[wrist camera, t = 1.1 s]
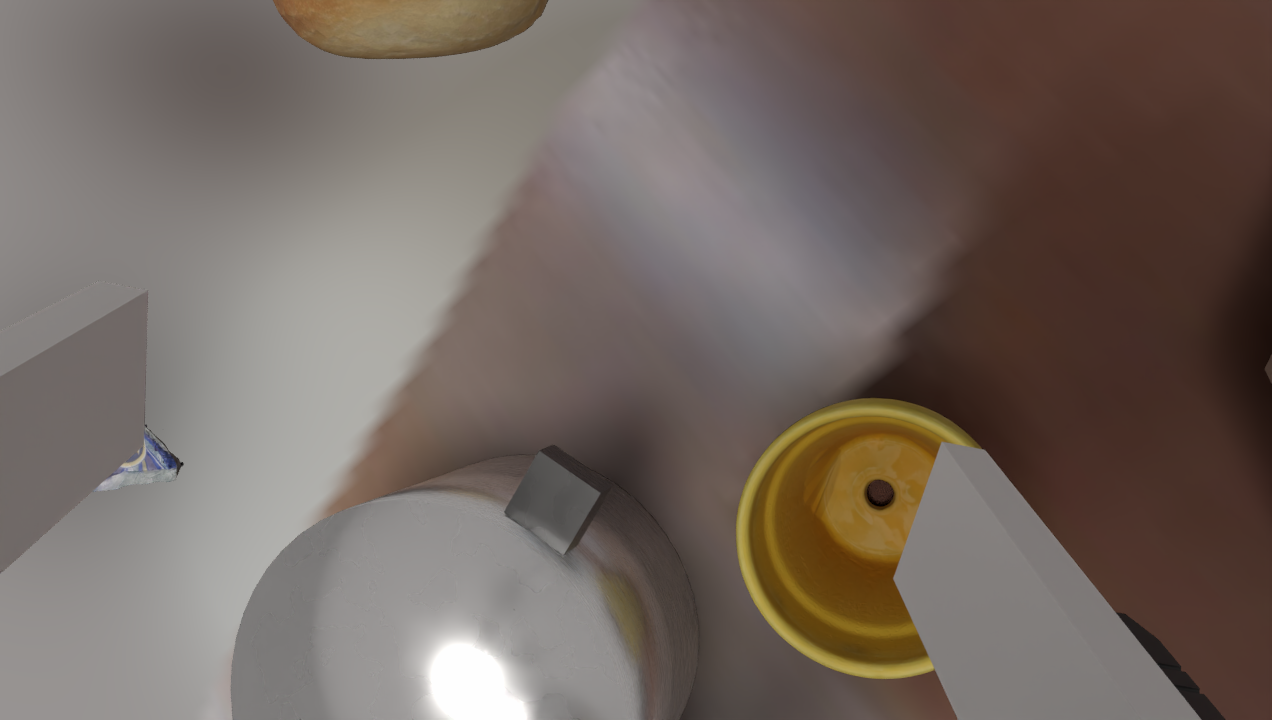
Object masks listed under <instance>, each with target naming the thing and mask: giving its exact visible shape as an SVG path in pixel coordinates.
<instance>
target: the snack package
mask: <svg viewBox="0 0 1272 720" xmlns="http://www.w3.org/2000/svg"><path fill="white" fill-rule="evenodd" d="M183 465H184V463H183V462H180V461H179V459H178V458H176V457H175V456H174V455H173V454H172V453H171V452H169V450H168V449H167V447H166V446H165V444H164V443H163V442H162V441H161V440H160V439H159V438H157V437H156V436H155V435H154V434H153V433H152V432H151V430H149V429H148V428H147V425H144V445H143V446H142V447H141V448H140V449H139V450H138V451H137V452H136V453H135V454H133V455H132V456H131V457H130V458H129V459H128V460H127V461H126V462H125V463H123V464H122V465H121V466H120V467H119V468H118V469H117V470H116V471H114V472H113V473H112V474H111V475H110V476H109V477H108V478H107V479H106V480H104V481H103V482H102V483H101V484H100V485H99V486H98V487H97V488H96V489H94V490H93V492H96V491H104V490H117V489H120V488H121V487H124V486H128V485H129V484H130V485H134V484H150V483H153V482H159V481H166V482H170V481H174V480H175V479H176V477H177V475H178V472H179V470H180V468H181V467H182V466H183Z"/></svg>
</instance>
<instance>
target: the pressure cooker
mask: <svg viewBox="0 0 1272 720" xmlns="http://www.w3.org/2000/svg"><path fill="white" fill-rule="evenodd" d="M698 651H699V632H698V619H697V613H696V607H695V601H694V597H693V593H692V590H691V587H690V583H689V580H688V577H687V574H686V572H685V570H684V568H683V565H682V563H681V561H680V558H679V556H678V554H677V552H676V551H675V549H674V547H673V546H672V544H671V542H670V541H669V539H668V537H667V536H666V534H665V533H664V531H663V530H662V529H661V527H660V526H659V525H658V524H657V522H656V521H655V520H654V518H653V517H652V516H651V515H650V514H649V513H648V512H647V511H646V510H645V509H644V508H643V507H642V506H641V505H640V504H639V503H638V502H637V501H636V500H635V499H634V498H633V497H632V496H631V495H629V494H628V493H627V492H625V491H624V490H623V489H622V488H620V487H619V486H618V485H616V484H615V483H613V482H612V481H610V480H608V479H607V478H605V477H603V476H601V475H600V474H598V473H596V472H594V471H592V470H590V469H588V468H587V467H585V466H584V465H583V464H581V463H580V462H578V461H577V460H575V459H574V458H572V457H571V456H569V455H568V454H567V453H565V452H564V451H562V450H561V449H559V448H558V447H556V446H555V445H552V446H550V447H547V448H545V449H542V450H539V452H538V453H537V455H510V456H503V457H496V458H491V459H488V460H485V461H481V462H478V463H474V464H472V465H469V466H466V467H463V468H460V469H457V470H455V471H452V472H449V473H446V474H443V475H441V476H438V477H435V478H432V479H429V480H427V481H424V482H421V483H418V484H415V485H413V486H410V487H407V488H404V489H401V490H399V491H396V492H393V493H390V494H387V495H385V496H382V497H379V498H376V499H373V500H370V501H368V502H365V503H362V504H359V505H356V506H354V507H351V508H348V509H345V510H342V511H340V512H338V513H336V514H334V515H332V516H330V517H327V518H325V519H323V520H321V521H319V522H318V523H316V524H315V525H313V526H312V527H310V528H309V529H307V530H306V531H304V532H303V533H301V534H300V535H299V536H298V537H297V538H295V539H294V540H293V541H292V542H291V543H290V544H289V545H288V546H287V547H285V548H284V549H283V550H282V551H281V552H280V554H279V555H278V556H277V557H276V559H275V560H274V561H273V562H272V563H271V565H270V566H269V567H268V568H267V569H266V571H265V573H264V574H263V576H262V578H261V579H260V581H259V583H258V584H257V586H256V588H255V589H254V591H253V593H252V595H251V598H250V600H249V602H248V605H247V607H246V609H245V611H244V613H243V617H242V620H241V624H240V627H239V630H238V634H237V637H236V643H235V649H234V655H233V661H232V674H231V702H232V717H233V720H679V719H680V717H681V715H682V713H683V711H684V709H685V707H686V704H687V701H688V699H689V696H690V694H691V691H692V687H693V683H694V679H695V674H696V670H697V662H698Z"/></svg>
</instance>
